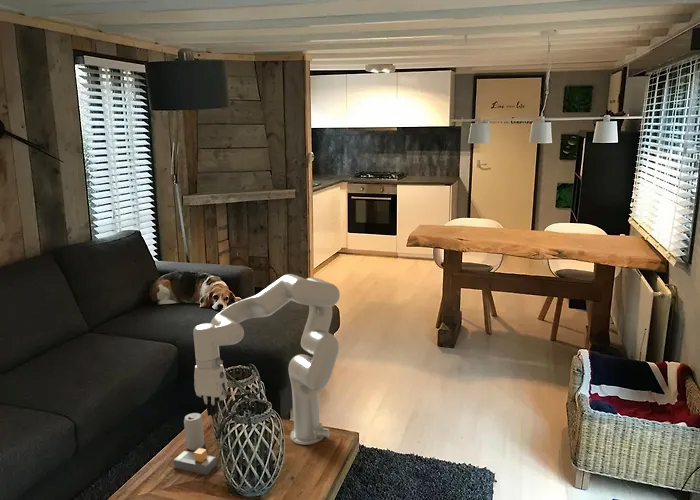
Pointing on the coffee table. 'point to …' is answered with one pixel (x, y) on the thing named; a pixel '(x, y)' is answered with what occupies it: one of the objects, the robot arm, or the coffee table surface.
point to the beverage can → (194, 431)
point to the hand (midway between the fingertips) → (212, 413)
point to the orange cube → (200, 454)
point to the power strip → (194, 463)
